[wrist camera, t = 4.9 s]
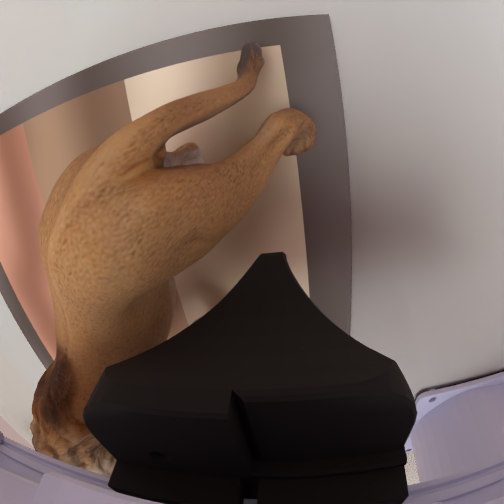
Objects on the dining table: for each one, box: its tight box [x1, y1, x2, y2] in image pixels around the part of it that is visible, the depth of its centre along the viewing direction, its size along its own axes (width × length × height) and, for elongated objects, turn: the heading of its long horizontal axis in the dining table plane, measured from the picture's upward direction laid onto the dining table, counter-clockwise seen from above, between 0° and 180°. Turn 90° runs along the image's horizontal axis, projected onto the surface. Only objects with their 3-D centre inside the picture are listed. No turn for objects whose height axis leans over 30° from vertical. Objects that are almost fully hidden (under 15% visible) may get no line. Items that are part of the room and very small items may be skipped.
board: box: [0, 14, 352, 370], centre depth 13 cm, size 20×17×1 cm
